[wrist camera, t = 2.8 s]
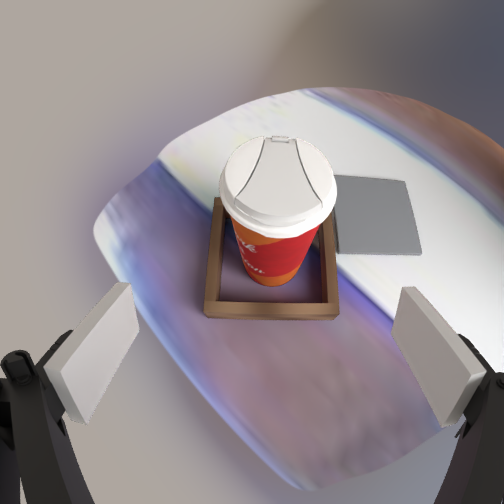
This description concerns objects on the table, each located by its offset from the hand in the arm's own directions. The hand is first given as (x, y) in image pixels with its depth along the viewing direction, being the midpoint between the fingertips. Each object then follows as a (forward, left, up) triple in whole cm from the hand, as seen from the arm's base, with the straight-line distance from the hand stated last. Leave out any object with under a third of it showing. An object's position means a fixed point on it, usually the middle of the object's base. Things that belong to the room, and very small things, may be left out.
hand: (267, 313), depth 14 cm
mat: (-13, -15, -15) cm, 24 cm away
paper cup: (-1, -9, -15) cm, 17 cm away
